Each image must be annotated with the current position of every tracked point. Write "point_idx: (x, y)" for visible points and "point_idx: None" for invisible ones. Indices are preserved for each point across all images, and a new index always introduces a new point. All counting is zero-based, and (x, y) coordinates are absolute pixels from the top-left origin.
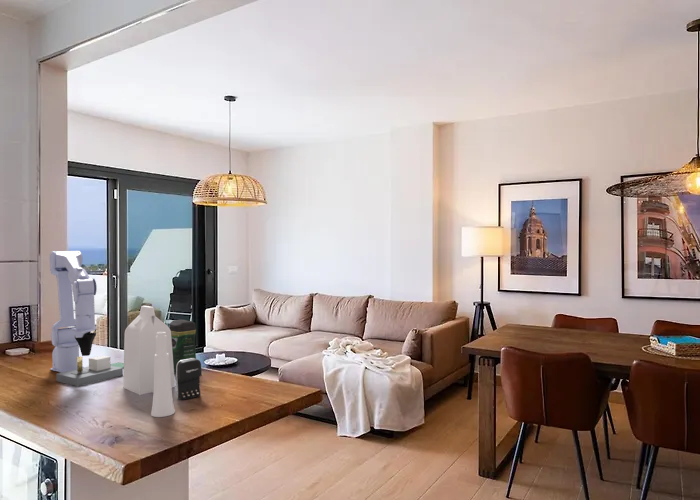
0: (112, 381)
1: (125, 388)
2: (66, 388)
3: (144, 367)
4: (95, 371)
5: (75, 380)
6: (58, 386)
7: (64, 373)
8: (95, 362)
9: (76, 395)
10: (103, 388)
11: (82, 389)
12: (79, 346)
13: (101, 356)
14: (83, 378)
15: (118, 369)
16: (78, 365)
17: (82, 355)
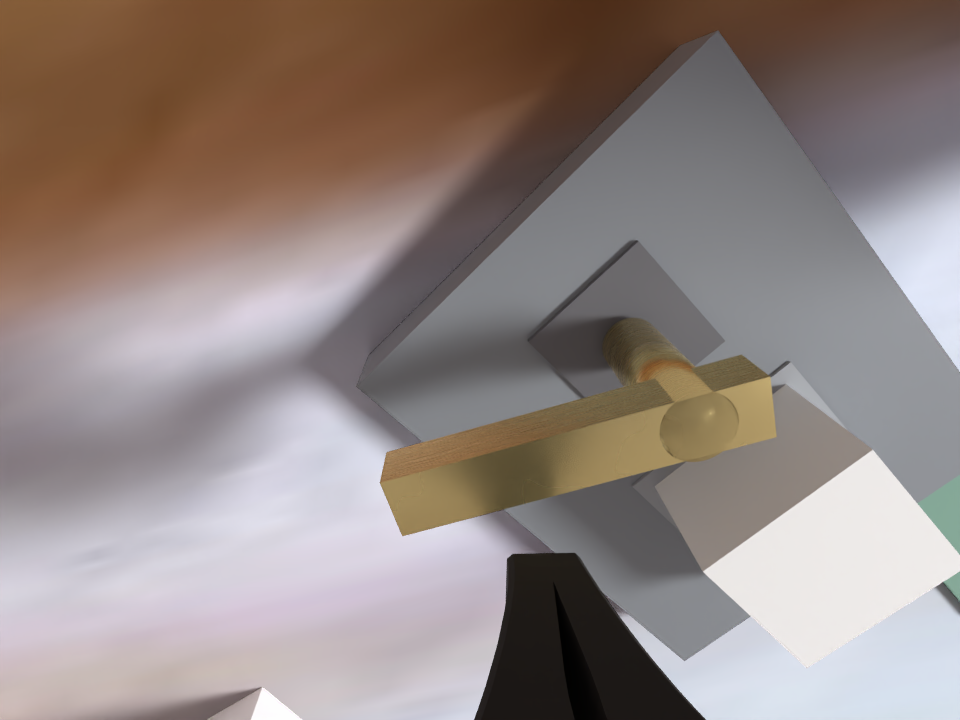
0: (473, 583)
1: (230, 706)
2: (316, 272)
3: None
4: (642, 475)
5: (382, 354)
6: (417, 157)
7: (685, 147)
8: (708, 529)
9: (61, 436)
10: (261, 574)
11: (254, 428)
12: (485, 694)
13: (899, 573)
14: (410, 424)
15: (656, 637)
16: (625, 371)
17: (510, 563)
